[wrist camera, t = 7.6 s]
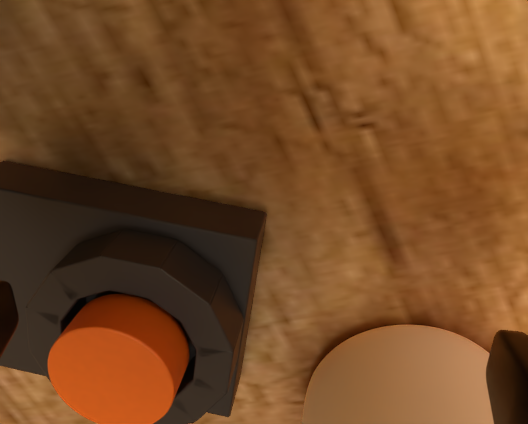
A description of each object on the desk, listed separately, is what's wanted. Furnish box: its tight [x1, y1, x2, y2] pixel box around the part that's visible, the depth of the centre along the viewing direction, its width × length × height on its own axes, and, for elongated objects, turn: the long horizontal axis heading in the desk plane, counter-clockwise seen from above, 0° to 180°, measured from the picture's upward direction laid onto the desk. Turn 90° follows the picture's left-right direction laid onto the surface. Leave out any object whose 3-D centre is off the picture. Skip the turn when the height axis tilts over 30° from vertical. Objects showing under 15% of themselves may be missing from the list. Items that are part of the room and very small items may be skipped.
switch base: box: [0, 161, 267, 424], centre depth 18 cm, size 10×8×4 cm
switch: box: [48, 294, 189, 424], centre depth 16 cm, size 4×4×2 cm
